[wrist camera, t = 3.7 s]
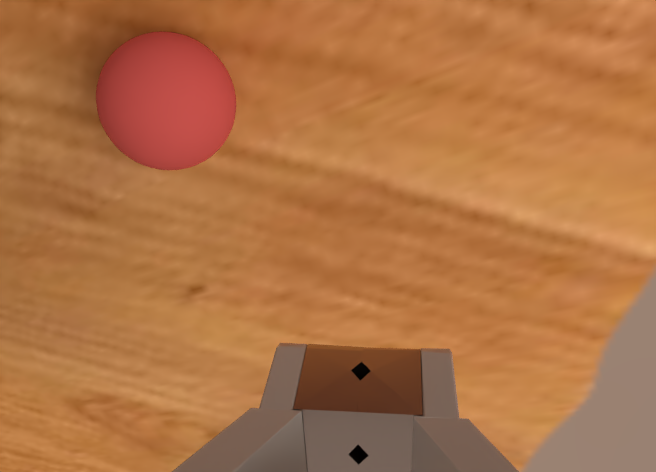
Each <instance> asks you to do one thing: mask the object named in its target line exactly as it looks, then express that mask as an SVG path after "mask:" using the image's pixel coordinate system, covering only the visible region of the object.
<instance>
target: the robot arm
mask: <svg viewBox="0 0 656 472" xmlns="http://www.w3.org/2000/svg"><path fill="white" fill-rule="evenodd" d="M172 472H519V471H518V470H517V469H516V468H515V467H514V466H513V465H512V464H511V463H510V462H509V461H508V460H507V459H506V458H505V457H504V456H503V455H502V454H501V453H500V452H499V450H498V449H497V448H496V447H495V446H494V445H493V444H492V443H491V442H490V441H489V440H488V439H487V438H486V437H485V436H484V435H483V434H482V433H481V432H480V431H479V430H478V429H477V428H476V427H475V426H474V424H473V423H472V422H471V421H470V420H469V419H460V418H459V412H458V403H457V394H456V385H455V376H454V368H453V359H452V352H451V351H450V349H426V348H421V350H420V349H399V348H366V347H351V346H334V345H317V344H308V345H307V344H293V343H280V344H279V345H278V347H277V348H276V351H275V355H274V358H273V362H272V365H271V369H270V372H269V376H268V379H267V383H266V386H265V390H264V393H263V397H262V400H261V404H260V407H259V409H258V408H250V409H249V410H248V411H247V412H245V413H244V414H243V415H242V416H240V417H239V418H238V419H237V420H236V421H234V422H233V423H232V424H231V425H229V426H228V427H227V428H226V429H224V430H223V431H222V432H221V433H219V434H218V435H217V436H216V437H214V438H213V439H212V440H211V441H209V442H208V443H207V444H206V445H204V446H203V447H202V448H201V449H199V450H198V451H197V452H196V453H195V454H193V455H192V456H191V457H190V458H188V459H187V460H186V461H185V462H183V463H182V464H181V465H180V466H178V467H177V468H176V469H175V470H173V471H172Z"/></svg>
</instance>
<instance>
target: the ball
mask: <svg viewBox="0 0 656 472" xmlns="http://www.w3.org/2000/svg"><path fill="white" fill-rule="evenodd" d="M96 103H97V110H98V115H99V118H100V121H101V124H102V126H103V128H104V130H105V132H106V134H107V135H108V137H109V138H110V140H111V141H112V142H113V143H114V145H115V146H116V147H117V148H118V149H119V150H120V151H121V152H123V153H124V154H125V155H126V156H128V157H129V158H131V159H132V160H134V161H136V162H138V163H140V164H142V165H145V166H148V167H151V168H156V169H161V170H179V169H184V168H189V167H192V166H195V165H197V164H199V163H201V162H203V161H205V160H207V159H208V158H209V157H211V156H212V155H213V154H214V153H215V152H216V151H218V150H219V149H220V147H221V146H222V145H223V144H224V142H225V141H226V139H227V137H228V135H229V134H230V131H231V129H232V126H233V123H234V119H235V112H236V96H235V90H234V87H233V83H232V80H231V78H230V76H229V73H228V71H227V70H226V68H225V66H224V65H223V63H222V62H221V61H220V59H219V58H218V57H217V56H216V55H215V54H214V53H213V52H212V51H211V50H210V49H208V48H207V47H206V46H205V45H203V44H202V43H200V42H198V41H197V40H195V39H193V38H191V37H188V36H185V35H182V34H178V33H173V32H151V33H147V34H143V35H140V36H137V37H134V38H132V39H130V40H129V41H127V42H125V43H124V44H122V45H121V46H120V47H119V48H118V49H116V50H115V51H114V52H113V54H112V55H111V56H110V57H109V59H108V60H107V62H106V63H105V65H104V66H103V69H102V71H101V73H100V76H99V80H98V84H97V90H96Z"/></svg>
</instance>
